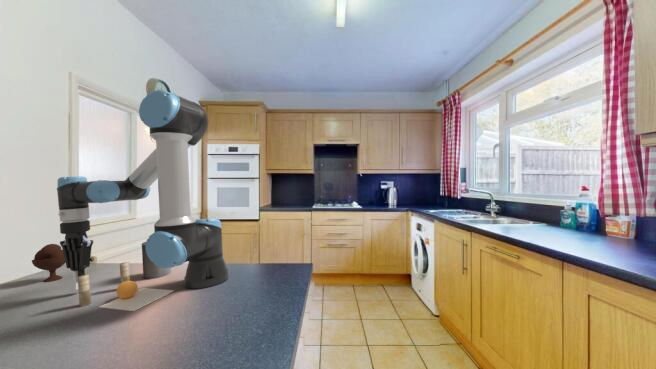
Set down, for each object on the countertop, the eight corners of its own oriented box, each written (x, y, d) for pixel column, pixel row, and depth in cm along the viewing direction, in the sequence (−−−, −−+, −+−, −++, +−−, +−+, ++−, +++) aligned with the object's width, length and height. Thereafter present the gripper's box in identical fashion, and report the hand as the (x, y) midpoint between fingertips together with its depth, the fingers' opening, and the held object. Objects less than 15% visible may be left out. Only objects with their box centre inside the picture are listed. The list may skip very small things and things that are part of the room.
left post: (92, 303, 83) (91, 274, 83) (83, 306, 81) (81, 277, 80) (87, 302, 84) (85, 274, 84) (77, 306, 81) (75, 277, 81)
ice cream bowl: (78, 274, 114) (76, 240, 114) (49, 284, 103) (46, 246, 103) (56, 275, 115) (54, 240, 115) (25, 285, 104) (22, 247, 104)
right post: (132, 287, 95) (130, 262, 95) (124, 289, 93) (123, 264, 93) (126, 286, 96) (125, 262, 96) (119, 289, 93) (117, 264, 93)
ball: (126, 283, 89) (135, 297, 88) (109, 290, 84) (117, 305, 83) (135, 274, 88) (144, 288, 87) (118, 281, 83) (127, 295, 82)
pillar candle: (139, 276, 107) (136, 239, 106) (165, 269, 115) (163, 235, 114) (149, 280, 101) (147, 242, 101) (176, 272, 109) (173, 237, 109)
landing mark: (174, 291, 89) (174, 290, 89) (133, 311, 76) (133, 310, 76) (142, 288, 93) (142, 288, 93) (98, 307, 80) (98, 306, 80)
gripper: (48, 222, 90) (53, 291, 90) (75, 222, 86) (79, 293, 86) (75, 219, 97) (79, 283, 97) (100, 219, 93) (104, 284, 94)
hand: (79, 288), depth 92 cm, fingers closed
